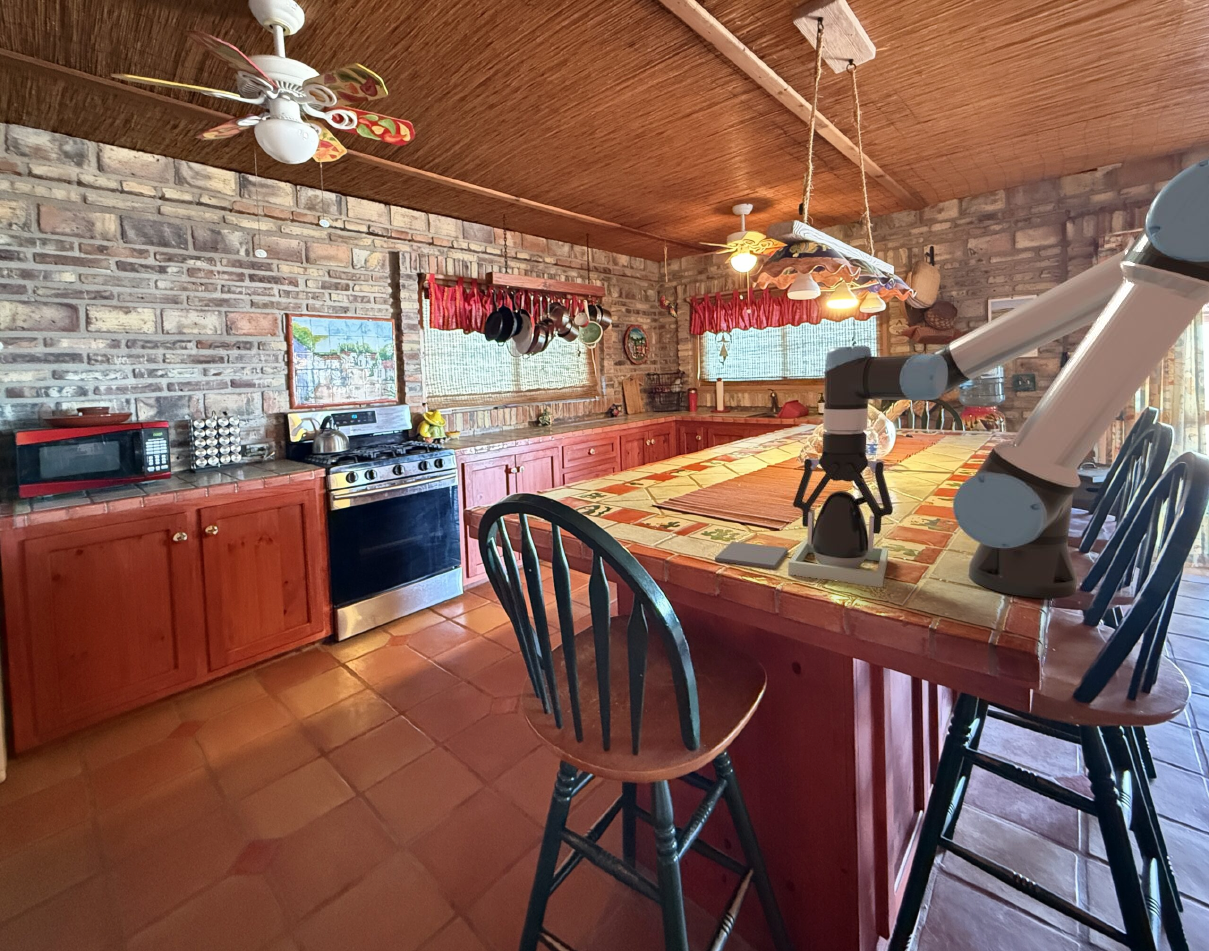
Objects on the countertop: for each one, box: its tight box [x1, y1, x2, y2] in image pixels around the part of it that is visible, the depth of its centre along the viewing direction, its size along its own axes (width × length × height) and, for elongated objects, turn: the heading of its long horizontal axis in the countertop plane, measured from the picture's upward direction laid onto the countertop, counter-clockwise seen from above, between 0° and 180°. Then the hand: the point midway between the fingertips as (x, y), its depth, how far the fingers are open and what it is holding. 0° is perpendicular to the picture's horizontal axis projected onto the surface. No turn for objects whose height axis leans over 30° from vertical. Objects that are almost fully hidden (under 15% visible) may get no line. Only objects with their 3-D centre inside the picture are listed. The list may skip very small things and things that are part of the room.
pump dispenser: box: [812, 490, 869, 569], centre depth 108 cm, size 10×10×15 cm
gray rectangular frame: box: [787, 539, 889, 589], centre depth 109 cm, size 16×16×2 cm
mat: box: [714, 541, 788, 570], centre depth 117 cm, size 12×12×1 cm
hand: (839, 546), depth 109 cm, fingers closed on pump dispenser, 10 cm apart
